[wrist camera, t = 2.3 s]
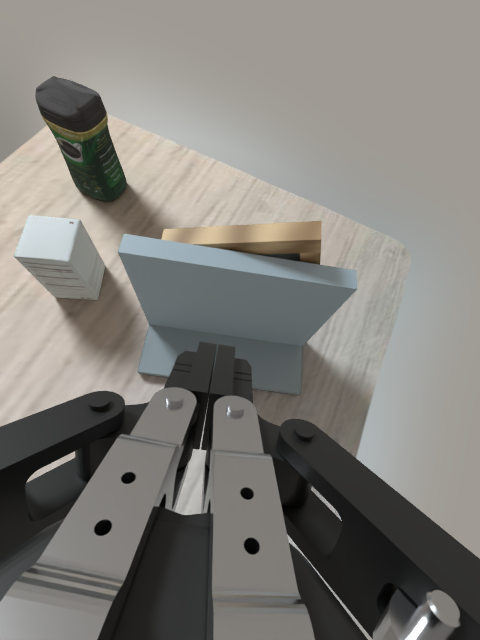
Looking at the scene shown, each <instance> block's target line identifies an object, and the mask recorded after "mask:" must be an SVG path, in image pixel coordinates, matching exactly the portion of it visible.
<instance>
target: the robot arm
mask: <svg viewBox="0 0 480 640" xmlns="http://www.w3.org/2000/svg"><path fill="white" fill-rule="evenodd" d="M216 348H217V344H216V343H209V342H203V341H200V342H199V346H198V349H197V352H191V351H184V352H183V353H181V354H180V355H178V356H177V359H176V361H175V364H174V366H173V368H172V371H171V373H170V375H169V378H168V380H167V382H166V385H165V387H164V389H162V390H160V391H158V392H156V393H155V394H154V396H153V397H152V399H151V401H150V402H148V403H144V404H138V405H125V402H124V399H123V398H122V397H121V396H120V395H119V394H117V393H114V392H109V391H97V392H92V393H89V394H86V395H83V396H81V397H78V398H75V399H73V400H70V401H67V402H65V403H62V404H59V405H57V406H54V407H52V408H49V409H46V410H44V411H41V412H38V413H36V414H33V415H30V416H28V417H25V418H22V419H20V420H17V421H15V422H12V423H9V424H7V425H4V426H1V427H0V640H368V639H367V638H366V637H365V635H364V634H363V633H362V631H361V630H360V629H359V627H358V626H357V625H356V623H355V622H354V621H353V620H352V618H351V617H350V616H349V614H348V613H347V612H346V610H345V609H344V608H343V606H342V605H341V604H340V602H339V601H338V600H337V599H336V597H335V596H334V595H333V593H332V592H331V591H330V589H329V588H328V587H327V586H326V584H325V583H324V581H323V580H322V579H321V577H320V576H319V575H318V573H317V572H316V571H315V570H314V568H313V567H312V566H311V564H312V565H313V566H314V567H315V569H316V570H317V571H318V572H319V574H320V575H321V576H322V577H323V579H324V580H325V581H326V582H327V583H328V585H329V586H330V587H331V588H332V590H333V591H334V592H335V593H336V595H337V596H338V597H339V598H340V600H341V601H342V602H343V603H344V604H345V606H346V607H347V608H348V609H349V611H350V612H351V613H352V614H353V616H354V617H355V618H356V619H357V620H358V622H359V623H360V624H361V625H362V627H363V628H364V629H365V630H366V632H367V633H368V634H369V635H370V637H371V638H372V639H373V640H480V559H479V558H478V557H476V556H475V555H474V554H473V553H472V552H470V551H469V550H468V549H467V548H465V547H464V546H463V545H462V544H460V543H459V542H458V541H457V540H456V539H454V538H453V537H452V536H451V535H449V534H448V533H447V532H446V531H444V530H443V529H442V528H441V527H440V526H438V525H437V524H436V523H435V522H433V521H432V520H431V519H430V518H429V517H427V516H426V515H425V514H424V513H422V512H421V511H420V510H419V509H417V508H416V507H415V506H414V505H413V504H411V503H410V502H409V501H408V500H406V499H405V498H404V497H403V496H401V495H400V494H399V493H398V492H397V491H395V490H394V489H393V488H392V487H390V486H389V485H388V484H386V483H385V482H384V481H383V480H382V479H381V478H379V477H378V476H377V475H376V474H374V473H373V472H372V471H371V470H370V469H368V468H367V467H366V466H364V465H363V464H362V463H361V462H360V461H358V460H357V459H356V458H355V457H354V456H352V455H351V454H350V453H349V452H347V451H346V450H345V449H344V448H342V447H341V446H340V445H339V444H338V443H336V442H335V441H334V440H333V439H331V438H330V437H329V436H328V435H327V434H325V433H324V432H323V431H322V430H320V429H319V428H318V427H317V426H315V425H314V424H312V423H310V422H308V421H305V420H301V419H290V420H287V421H285V422H284V423H282V425H281V427H279V426H277V425H274V424H272V423H269V422H267V421H265V420H264V419H262V418H261V417H260V416H259V415H258V414H257V410H256V408H255V406H254V405H253V395H252V368H251V366H250V364H249V363H248V361H247V360H245V359H238V358H235V346H229V345H223V344H218V350H217V355H216ZM215 355H216V361H215ZM214 361H215V366H214ZM213 368H214V372H213ZM212 375H213V377H212ZM211 381H212V383H211ZM210 387H211V388H210ZM209 393H210V394H209ZM208 399H209V401H208ZM207 404H208V407H207ZM206 410H207V414H206ZM205 415H206V421H205ZM204 421H205V427H204V434H203V441H202V448H201V450H207V452H206V459H205V465H204V472H203V489H202V505H201V514H194V515H181V514H178V513H176V512H175V508H176V505H177V502H178V499H179V495H180V492H181V489H182V486H183V482H184V479H185V476H186V473H187V469H188V463H189V461H190V459H191V456H192V451H193V449H199V448H200V442H201V437H202V431H203V426H204ZM74 451H75V458H74V459H72V460H70V461H68V462H66V463H64V464H62V465H60V466H58V467H56V468H54V469H52V470H51V471H49V472H47V473H45V474H43V475H41V476H39V477H37V478H35V479H33V480H31V481H29V482H27V480H28V479H29V477H30V476H31V475H32V474H33V473H34V472H36V471H37V470H38V469H40V468H42V467H44V466H46V465H48V464H50V463H52V462H54V461H56V460H58V459H60V458H62V457H64V456H66V455H68V454H70V453H72V452H74ZM26 482H27V483H26ZM312 486H313V487H314V488H315V489H316V490H317V491H318V492H319V493H320V494H321V495H322V496H323V497H324V498H325V499H326V500H327V501H328V502H329V503H330V504H331V505H332V506H333V507H334V508H335V509H336V510H337V512H338V513H339V515H340V517H341V520H342V521H341V520H340V519H339V518H338V517H337V516H336V515H335V514H334V513H333V512H332V511H331V510H330V509H329V508H328V507H327V506H326V505H325V504H324V503H323V502H322V501H321V500H320V499H319V498H318V497H317V496H316V495H315V494H314V493H313V492H312V491H311V487H312ZM287 534H288V535H289V536H290V538H291V539H292V540H293V541H294V543H295V544H296V545H297V546H298V548H299V549H300V550H301V551H302V553H303V554H304V555H305V556H306V557H307V559H308V560H309V561H310V562H311V564H310V563H309V562H308V561H307V559H306V558H305V557H304V556H303V555H302V554H301V553H300V552H299V551H298V550H297V549H296V548H295V547H293V546H292V545H291V544H290V543H289V542H288V537H287Z"/></svg>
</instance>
